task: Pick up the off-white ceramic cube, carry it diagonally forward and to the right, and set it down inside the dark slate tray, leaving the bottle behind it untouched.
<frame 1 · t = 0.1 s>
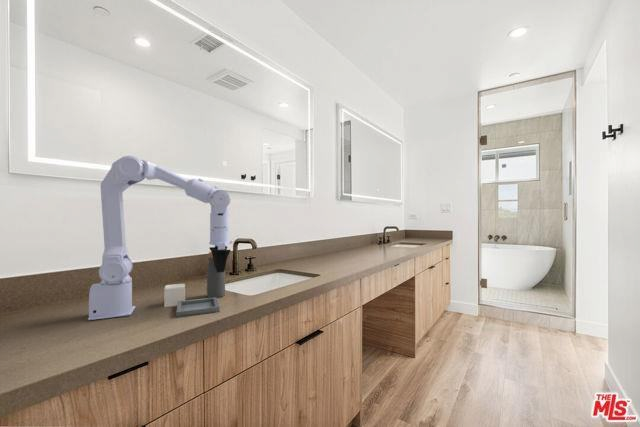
hand: (219, 270, 92), 10 cm above the table, tool pointing down, fingers open, 7 cm apart
slate tray: (198, 308, 85), on the table
ceramic cube: (174, 303, 90), on the table
bottle: (216, 296, 99), on the table
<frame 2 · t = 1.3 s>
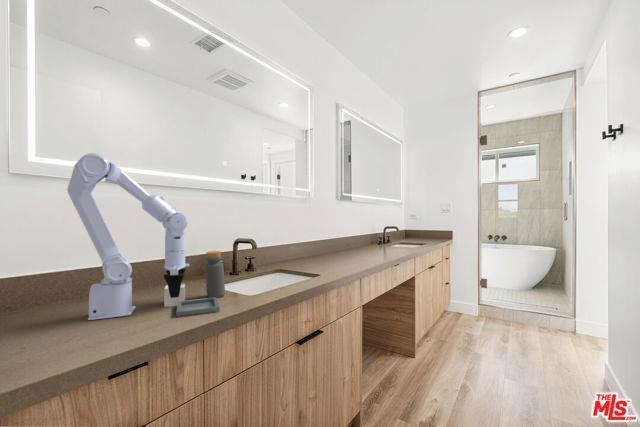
hand: (175, 294, 90), 3 cm above the table, tool pointing down, fingers open, 7 cm apart
nothing on the table moved.
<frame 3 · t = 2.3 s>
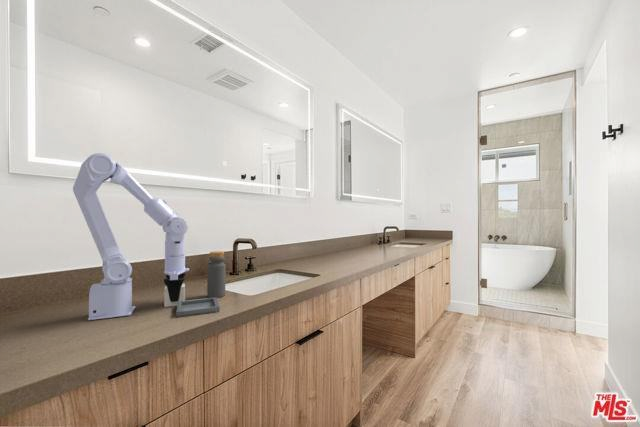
hand: (175, 298, 90), 1 cm above the table, tool pointing down, fingers closed on ceramic cube, 5 cm apart
ceramic cube: (175, 303, 90), on the table, touching gripper
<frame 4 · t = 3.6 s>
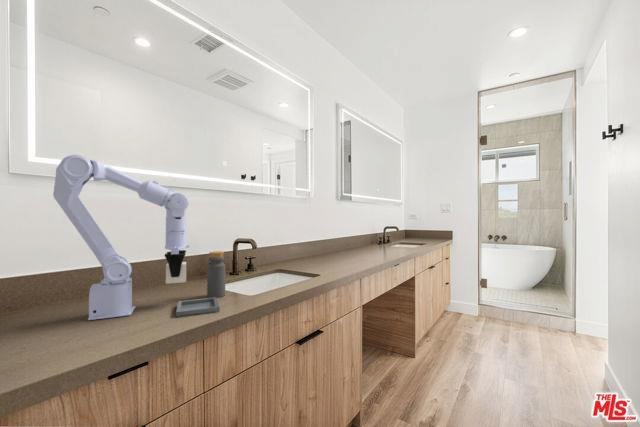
hand: (175, 274, 90), 9 cm above the table, tool pointing down, fingers closed on ceramic cube, 5 cm apart
ceramic cube: (176, 281, 90), point 7 cm above the table, touching gripper
everything else where it was.
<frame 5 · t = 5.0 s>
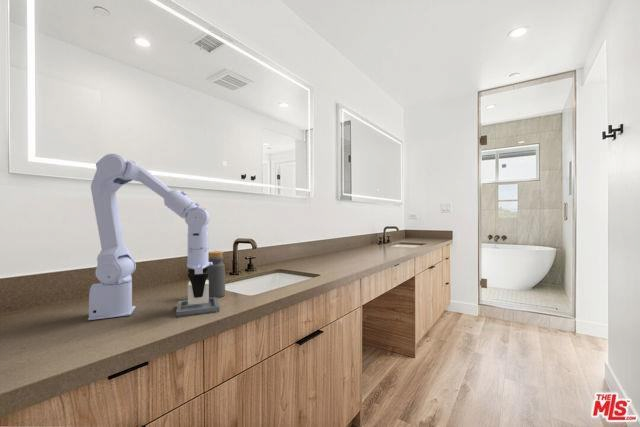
hand: (198, 294, 85), 4 cm above the table, tool pointing down, fingers closed on ceramic cube, 6 cm apart
ceramic cube: (198, 301, 85), point 2 cm above the table, touching gripper
everything else where it was.
when the fingers open (3 cm above the table, at t = 6.1 s): ceramic cube drops 1 cm, resting on slate tray.
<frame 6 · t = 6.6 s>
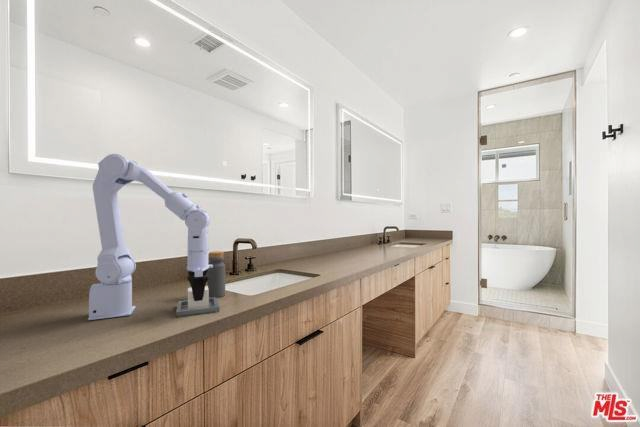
hand: (198, 297, 85), 3 cm above the table, tool pointing down, fingers open, 7 cm apart
ceramic cube: (198, 307, 85), resting on slate tray
everything else where it was.
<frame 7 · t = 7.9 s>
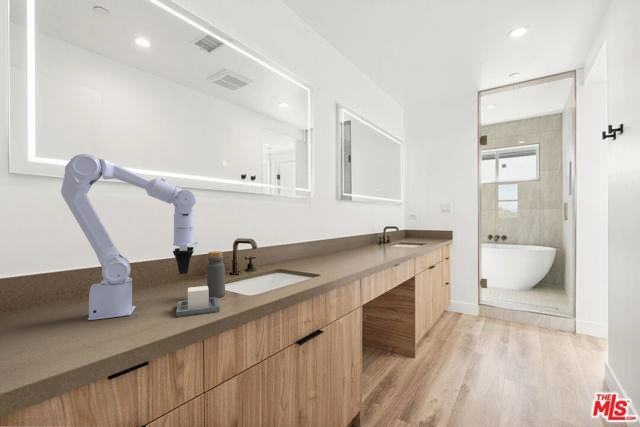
hand: (183, 271, 91), 10 cm above the table, tool pointing down, fingers open, 7 cm apart
nothing on the table moved.
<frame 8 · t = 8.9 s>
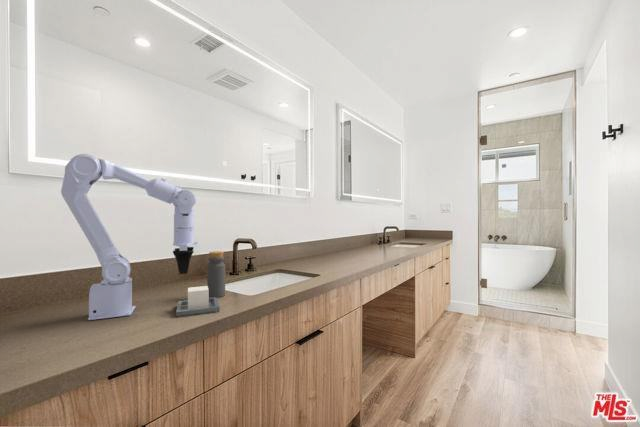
hand: (183, 271, 91), 10 cm above the table, tool pointing down, fingers open, 7 cm apart
nothing on the table moved.
at the end: ceramic cube inside the target area on the slate tray (0.1 cm from its centre), point 0.4 cm above the slate tray's base; ceramic cube tilted 0°; the gripper is holding nothing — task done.
